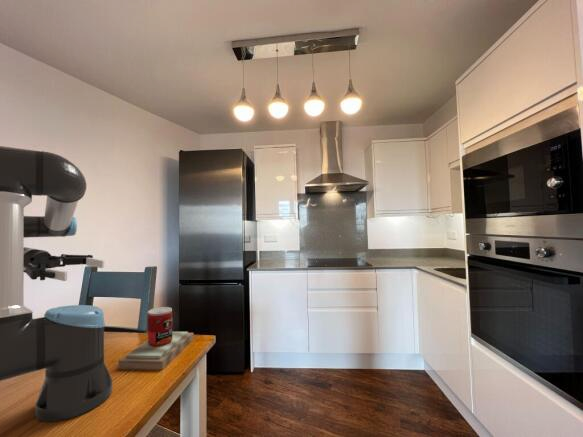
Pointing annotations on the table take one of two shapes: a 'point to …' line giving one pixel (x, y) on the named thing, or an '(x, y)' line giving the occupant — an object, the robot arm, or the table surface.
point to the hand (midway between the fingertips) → (86, 269)
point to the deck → (156, 353)
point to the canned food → (159, 326)
